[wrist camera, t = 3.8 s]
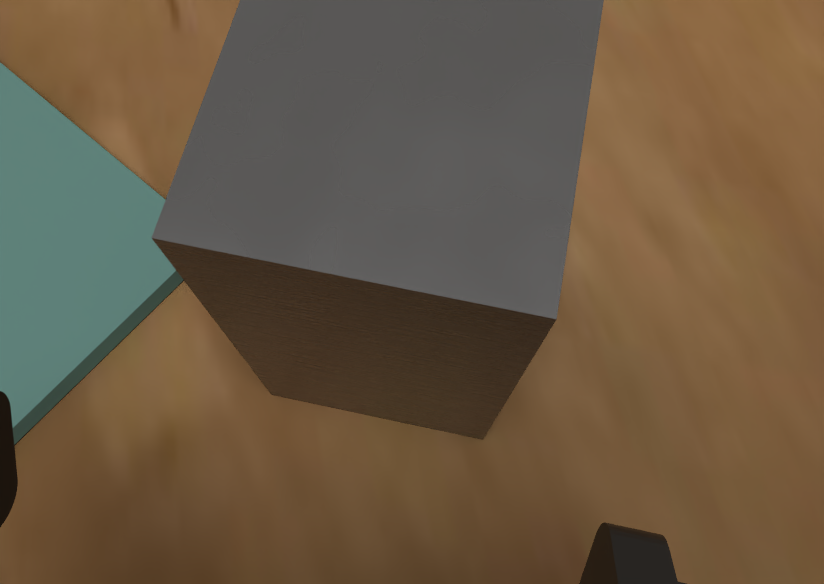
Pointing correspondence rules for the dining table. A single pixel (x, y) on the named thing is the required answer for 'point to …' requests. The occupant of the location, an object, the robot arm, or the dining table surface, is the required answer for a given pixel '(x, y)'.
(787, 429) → the dining table surface
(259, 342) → the block
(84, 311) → the teal mat
